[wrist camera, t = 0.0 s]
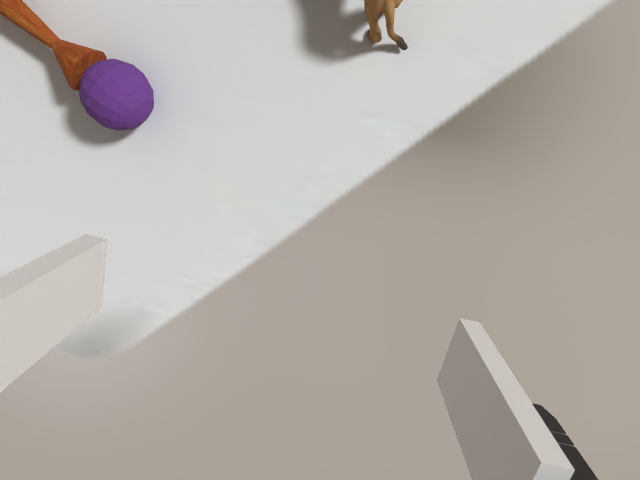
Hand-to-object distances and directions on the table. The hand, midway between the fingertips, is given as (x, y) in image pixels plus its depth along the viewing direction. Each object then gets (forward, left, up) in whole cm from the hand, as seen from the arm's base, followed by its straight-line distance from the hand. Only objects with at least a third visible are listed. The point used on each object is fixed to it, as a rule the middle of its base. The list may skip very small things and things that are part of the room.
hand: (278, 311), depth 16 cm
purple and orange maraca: (-7, -25, -28) cm, 39 cm away
